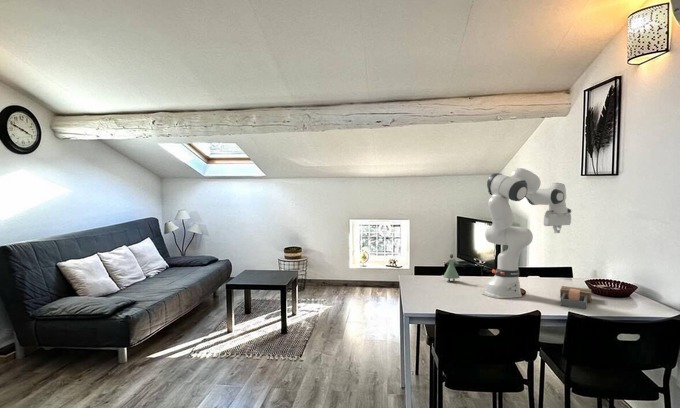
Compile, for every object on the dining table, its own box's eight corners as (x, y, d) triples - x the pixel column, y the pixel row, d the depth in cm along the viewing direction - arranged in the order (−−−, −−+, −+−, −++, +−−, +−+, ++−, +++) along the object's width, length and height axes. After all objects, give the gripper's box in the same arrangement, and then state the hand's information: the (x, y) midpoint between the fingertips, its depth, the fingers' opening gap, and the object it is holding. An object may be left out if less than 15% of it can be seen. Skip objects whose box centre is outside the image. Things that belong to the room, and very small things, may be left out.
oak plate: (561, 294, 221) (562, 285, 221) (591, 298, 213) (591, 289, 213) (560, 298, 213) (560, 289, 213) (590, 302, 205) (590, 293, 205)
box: (563, 299, 212) (563, 292, 212) (587, 302, 205) (587, 295, 205) (560, 305, 199) (560, 298, 199) (585, 309, 193) (585, 302, 193)
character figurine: (464, 280, 257) (464, 253, 256) (466, 283, 249) (466, 255, 248) (439, 279, 259) (439, 252, 259) (440, 282, 251) (441, 254, 251)
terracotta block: (570, 288, 208) (568, 292, 200) (580, 289, 205) (578, 293, 197) (570, 299, 208) (568, 304, 200) (579, 301, 206) (578, 305, 197)
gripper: (550, 210, 224) (550, 234, 225) (573, 210, 233) (573, 232, 233) (540, 210, 230) (540, 233, 230) (563, 209, 239) (563, 231, 239)
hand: (557, 233), depth 232 cm, fingers closed
